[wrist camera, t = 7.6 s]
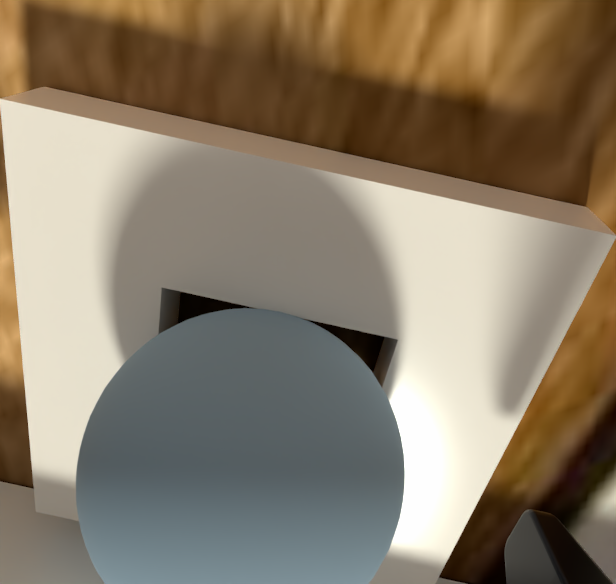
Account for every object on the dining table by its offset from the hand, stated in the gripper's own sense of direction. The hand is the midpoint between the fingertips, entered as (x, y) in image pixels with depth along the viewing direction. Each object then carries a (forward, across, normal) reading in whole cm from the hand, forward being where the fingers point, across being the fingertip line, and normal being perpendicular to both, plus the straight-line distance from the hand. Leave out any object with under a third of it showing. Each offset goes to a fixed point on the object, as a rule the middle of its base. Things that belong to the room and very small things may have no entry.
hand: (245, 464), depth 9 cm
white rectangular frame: (+3, 0, 0) cm, 3 cm away
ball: (0, 0, 0) cm, 0 cm away
